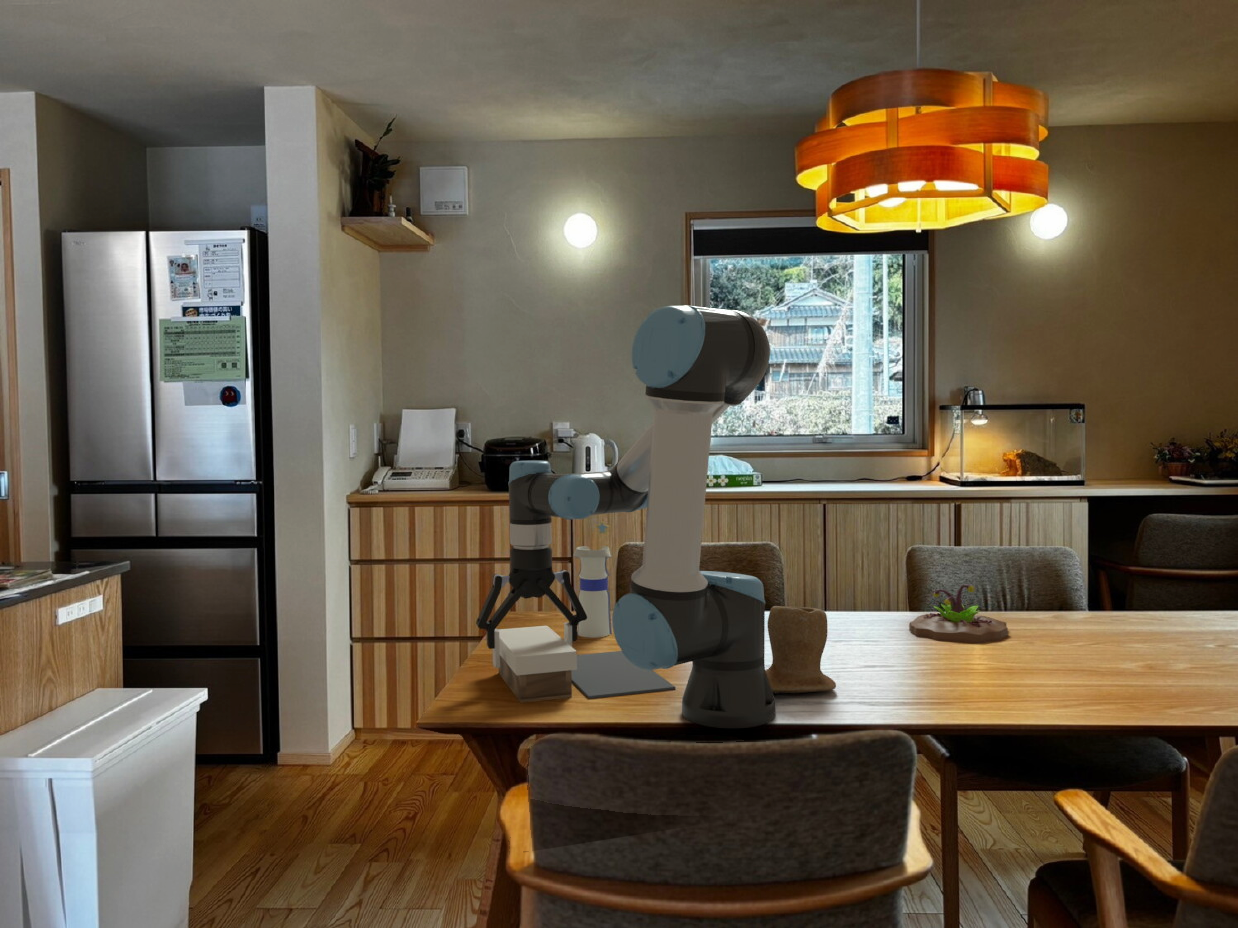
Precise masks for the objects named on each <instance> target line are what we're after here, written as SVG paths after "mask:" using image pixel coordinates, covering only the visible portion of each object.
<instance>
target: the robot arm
mask: <svg viewBox="0 0 1238 928" xmlns="http://www.w3.org/2000/svg"><path fill="white" fill-rule="evenodd" d="M770 347H771V345H770V341H769V337H768V335H767V333H766V331H765V329H764V328H763V325H761V324H760V323H759V321H757V320H756V319H755V318H754V316H751V315H749V314H748V313H745V312H743V311H740V310H735V309H721V308H720V309H719V308H709V307H702V306H694V305H688V304H684V305H666V306H662V307H659V308H656V309H655V310H653V311H652V312H651V313H649V314H648V316H647V317H646V319H644V320H642V322H641V324H640V325H639V326H638V328H637V330H636V333H635V335H634V338H633V342H632V347H631V362H632V368H633V369H634V370H635V375H636V377H637V378H638V379H639V381H640V382H641V383H643V384H644V385H645V393H644V396H645V398H646V399H647V401H648V402H649V404H651V406H652V407H653V409H654V410H653V411H654V412H653V422H652V424H650V425H649V427H647V429H646V430H645V431H644V432H643V433H642V434H641V436H640V437H639V438H638V439H637V440H636V441H635V442H634V444H632V446H630V448H629V449H628V450H627V452H626V453H625V454H624V455H622V458H620V460H619V461H617V463H616V464H615V465H613V467H612V468H611V469H610V470H608V471H605V470H604V471H591V472H577V473H575V472H574V473H553V472H552V467H551V464H550V462H549V461H547V460H517V461H513V462H511V464H510V465H509V477H508V480H509V481H508V483H507V484H508V485H507V486H508V501H509V502H508V503H509V544H510V545H511V546H513V547H511V548H510V549H509V550H510V551H509V554H510V557H509V558H510V570H509V571H510V572H509V574H508V575H500V574H498V573H494V574H493V576H492V583H491V584H492V586H491V588H490V590H489V593H488V594H487V597H486V599H485V600H484V603H483V606H482V608H481V609H480V613H479V615H478V617H477V619H476V622H475V624H476V626H477V627H478V628H479V629H480V630H486V646H487V648H488V649H489V650H491V649H492V665H493V666H494V668H495V669H499V668H500V647H499V631H498V630H499V629H497V627H498V626H499V625H500V623H502V621H503V619H504V618H505V617H506V615H507V614H509V613H508V612H510V610H511V609H512V608H513V607H514V605H515V603H517V602H518V601H519V600H520V598H523V599H524V600H525V599H526V600H527V599H531V598H537V599H540V598H542V597H543V596H546V597H547V598H548V599H549V600H550V602H551V603H552V604H553V605H554V606H555V607H556V609H558V611H559V612H560V613H561V614H562V615H563V616H564V618H565V619H566V620H567V621H568V622H564V623H563V625H564V628H563V629H564V630H563V631H564V632H563V633H564V639H563V640H564V641H566V642H567V643H568V644H569V645H570V646H571V647H572V648H573V642H577V641H578V624H579V622H580V621H583V620H586V619H587V615H586V613H585V611H584V609H583V607H582V605H581V603H580V601H579V599H578V595H577V593H576V591H575V589H574V588H573V585H572V582H571V575H570V572H569V571H567V570H565V569H562V570H560V571H557V572H556V571H555V572H554V571H553V549H552V547H551V546H549V545H551V544H552V543H553V538H552V537H553V535H552V534H553V532H552V517H555V518H561V519H565V520H571V521H572V520H584V519H587V518H589V517H590V516H596V515H598V516H599V515H603V514H604V515H605V514H606V515H607V514H615V513H633V512H635V511H639V510H644V509H646V515H645V527H644V528H645V529H644V539H643V541H644V542H643V551H642V552H643V555H642V565H641V566H640V567H639V568H638V569H636V570H635V571H634V572H633V573H632V574H631V579H630V580H631V581H630V592H629V593H627V594H624V595H623V596H622V597H621V598H619V600H618V601H617V602H616V603H615V604H614V607H613V610H612V615H611V626H612V630H613V631H612V633H613V635H614V638H615V641H616V643H617V645H618V647H619V648H620V651H622V653H623V654H624V655H625V657H626V658H627V659H628V660H629V661H630V662H631V663H632V664H634V665H635V666H637V667H639V668H641V669H644V670H653V671H655V670H661V669H662V670H663V669H664V670H665V669H666V670H668V669H670V668H673V667H674V666H678V665H682V664H687V663H690V662H692V664H691V665H692V666H691V670H690V673H689V676H688V681H687V683H686V686H685V689H684V694H683V696H682V700H681V715H682V716H683V718H684V719H686V720H687V721H688V722H692V723H694V724H696V725H700V726H705V727H710V728H715V729H716V728H717V729H747V728H754V727H755V728H756V727H759V726H762V725H766V724H768V722H769V723H770V722H772V721H774V719H775V718H776V717H777V714H776V713H777V712H776V710H777V708H776V707H777V705H776V703H777V702H776V698H775V696H774V693H773V692H772V689H771V686H770V683H769V680H768V677H767V674H766V671H765V670H766V667H765V639H766V638H765V637H766V636H765V634H766V633H765V621H766V620H765V618H766V617H765V613H766V612H765V610H766V609H765V606H766V600H765V593H764V592H765V589H764V584H763V581H761V580H760V579H759V578H758V577H756V576H753V575H749V574H744V573H743V574H742V573H733V572H726V571H725V572H724V571H714V570H713V571H711V570H709V571H708V570H700V562H701V551H702V542H703V541H702V538H703V529H704V517H705V516H704V514H705V506H706V505H705V504H706V492H707V482H708V471H709V459H710V449H711V448H710V447H711V439H712V437H711V436H712V435H711V434H712V426H713V424H714V423H715V422H716V421H717V420H718V419H719V418H720V416H722V415H723V414H724V413H725V412H726V410H728V408H729V407H736V406H739V405H741V404H742V403H743V402H744V401H745V400H746V399H747V398H748V397H749V395H751V394H752V393H753V392H754V390H756V388H757V386H758V385H759V384H760V383H761V381H762V379H763V378H764V376H765V374H766V371H767V369H768V367H769V364H770V359H771V358H770V357H771V348H770ZM555 580H556V581H557V582H558V583H559V584H561V586H562V588H563V590H564V592H565V594H566V596H567V598H568V600H569V601H570V604H571V606H572V608H573V610H574V611H575V614H573V613H572V612H571V611H570V609H569V608H568V607H567V606H566V605H565V603H563V601H562V600H561V599H560V598H559V597H558V596H557V594H556V593H555V592H554V591H553V590H552V589H551V588H550V587H552V586H553V585H552V584H553V583H554V582H555ZM507 583H509V584H510V586H511V587H512V588H511V590H510V591H509V592H508V594H507V596H506V598H505V599H504V600H503V601H502V603H501V604H500V606H499V607H498V608H497V609H496V611H495V612H494V613H493V615H492V616H491V614H492V612H493V609H494V607H495V605H496V603H497V600H498V598H499V596H500V594H501V591H502V589H503V588H505V587H506V584H507ZM490 616H491V617H490ZM489 618H490V619H489ZM765 723H766V724H765Z"/></svg>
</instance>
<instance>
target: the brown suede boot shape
mask: <svg viewBox="0 0 1238 928" xmlns="http://www.w3.org/2000/svg"><path fill="white" fill-rule="evenodd" d="M767 630H768V631H767V632H768V638H769V644H770V649H771V656H772V662H771V665H770V666H769V667H768V668H766V669H765V671H766V674H767V677H768V680H769V683H770V686H771V689H772V692H773V694H799V693H802V694H803V693H815V692H828V691H834V690H835V689H836V688H837V684H836V682H835V681H834V680H833V678H831V677H829V676H828V675H826V674H824V673H823V672H822V669H821V661H822V657H823V652H824V650H825V647H826V643H827V639H828V615H827V614H826V612H825V611H824V610H823V609H820V608H815V607H807V606H805V607H803V606H779V605H778V606H777V605H773V606H772V607H771V608H770V610H769V614H768V617H767Z"/></svg>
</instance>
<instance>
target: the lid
mask: <svg viewBox="0 0 1238 928" xmlns="http://www.w3.org/2000/svg"><path fill="white" fill-rule="evenodd" d="M497 630H498V631H499V647H500V656H501V657H502V658H503V659H504V661H505V662H506V663H507V664H508V665H509V667H510V668H511V669H512V670H513V672H514V673H515V674H516V675H527V674H537V673H547V672H557V671H568V670H577V655H578V652H577V650H576V649H575V648H574V647H573V646H572V647H571V646H570V645H569V644H568V643H567V642H566V641H565V640H564V639H563V638H562V637H561V636H560V635H559V634H558V633H556V632H555V630H553V629H552V628H551V627H549V626H548V625H540V626H539V625H537V626H525V627H513V628H512V627H511V628H501V629H497Z"/></svg>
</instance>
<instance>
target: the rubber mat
mask: <svg viewBox="0 0 1238 928" xmlns="http://www.w3.org/2000/svg"><path fill="white" fill-rule="evenodd" d="M571 677H572V684H573V685H574V686H576V688H577V689H578V690H579V691H581V693H582V694H583V695H584V697H586V698H587V699H588V700H592V699H602V698H609V697H610V698H611V697H612V698H613V697H619V696H628V695H638V694H649V693H655V692H664V691H665V692H666V691H675V690H676V686H675V685H674V684H673V683H671V682H669V681H668V680H667V679H666V678H664V677H663V676H661V675H660V674H659V673H657V672H656V671H655V670H644V669H641V668H639V667H637V666H635V665H634V664H632V663H631V662H630V661H629V660H628V659H627V658H626V657H625V655H624V654H623V653H622V650H618V651H606V652H605V651H604V652H596V653H595V652H594V653H585V654H584V653H583V654H577V670H571Z"/></svg>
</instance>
